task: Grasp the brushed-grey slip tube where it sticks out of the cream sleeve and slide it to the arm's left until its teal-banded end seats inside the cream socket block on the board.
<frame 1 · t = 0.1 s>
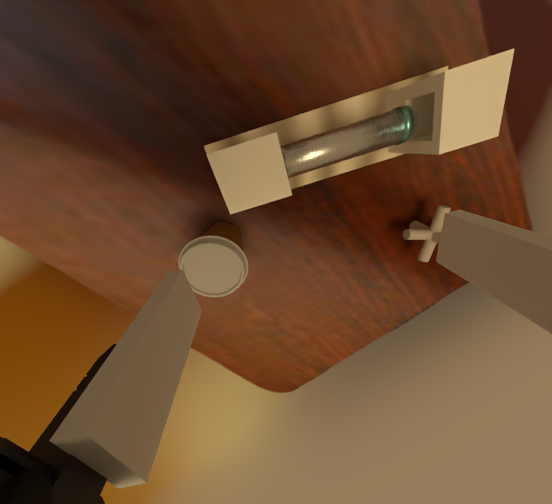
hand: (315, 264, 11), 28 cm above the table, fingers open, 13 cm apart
tube: (314, 152, 27), point 7 cm above the table, slide at 0.0 cm
disposable coffee cup: (224, 237, 39), on the table
board: (327, 143, 34), on the table
sleeve: (252, 167, 34), resting on board
pipe connector: (413, 224, 42), on the table
socket: (407, 118, 33), resting on board
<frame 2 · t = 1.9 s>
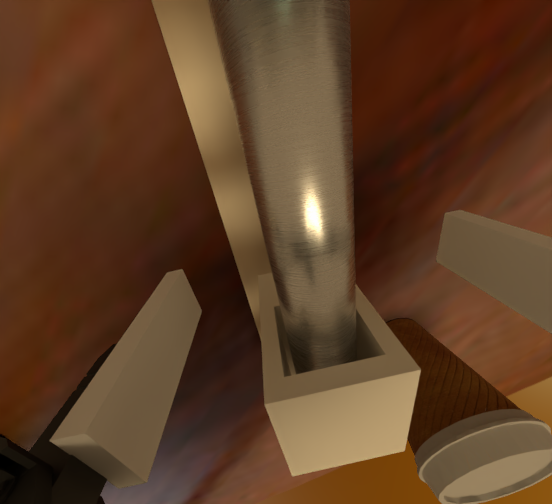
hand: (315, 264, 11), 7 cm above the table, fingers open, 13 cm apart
tube: (311, 260, 10), point 7 cm above the table, slide at 0.0 cm
disposable coffee cup: (392, 336, 25), on the table
board: (278, 163, 15), on the table
sleeve: (301, 297, 21), resting on board
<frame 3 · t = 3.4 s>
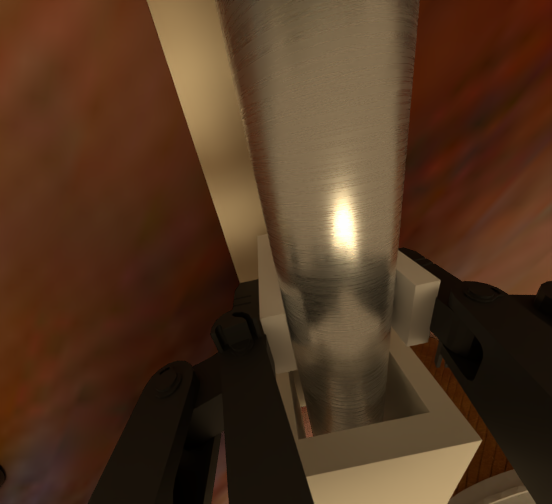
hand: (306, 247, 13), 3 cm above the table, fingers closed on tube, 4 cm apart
tube: (333, 289, 8), point 7 cm above the table, slide at 0.0 cm, touching gripper
disposable coffee cup: (410, 355, 23), on the table
board: (288, 164, 13), on the table
sleeve: (311, 314, 19), resting on board
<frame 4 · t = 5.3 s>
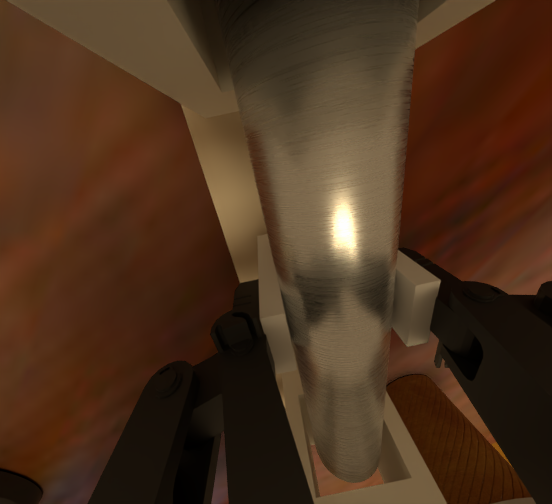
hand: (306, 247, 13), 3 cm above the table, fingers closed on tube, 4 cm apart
tube: (333, 289, 8), point 7 cm above the table, slide at 6.4 cm, touching gripper
disposable coffee cup: (405, 388, 26), on the table
board: (302, 254, 16), on the table
sleeve: (318, 360, 21), resting on board
socket: (265, 15, 10), resting on board
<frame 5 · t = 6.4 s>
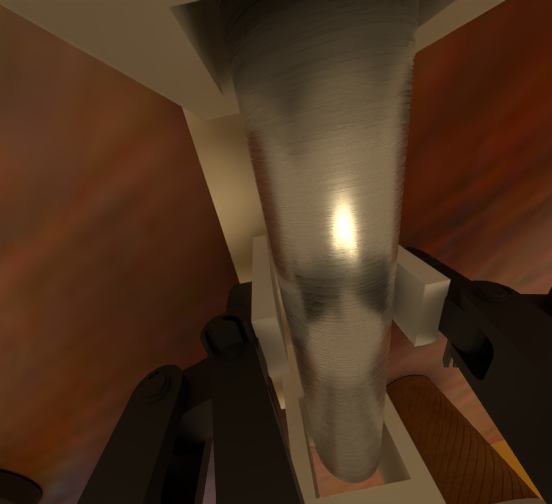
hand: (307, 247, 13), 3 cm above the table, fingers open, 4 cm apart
tube: (333, 290, 8), point 7 cm above the table, slide at 6.5 cm
disposable coffee cup: (404, 389, 26), on the table
board: (302, 255, 16), on the table
sleeve: (318, 361, 21), resting on board
socket: (266, 18, 10), resting on board
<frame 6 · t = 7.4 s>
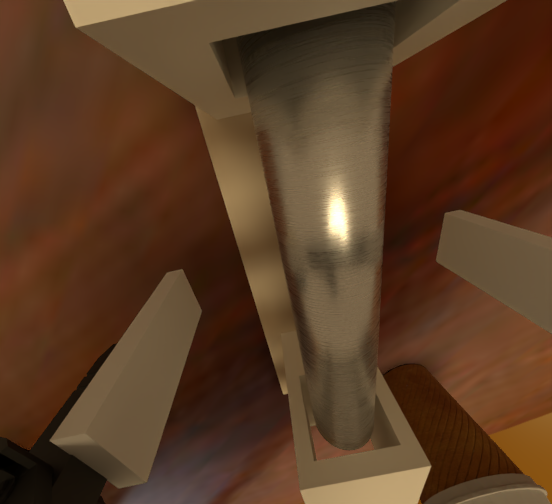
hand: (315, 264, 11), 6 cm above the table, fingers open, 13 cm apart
tube: (330, 269, 9), point 7 cm above the table, slide at 6.5 cm
disposable coffee cup: (401, 378, 27), on the table
board: (303, 246, 17), on the table
sleeve: (318, 348, 23), resting on board
socket: (272, 27, 11), resting on board
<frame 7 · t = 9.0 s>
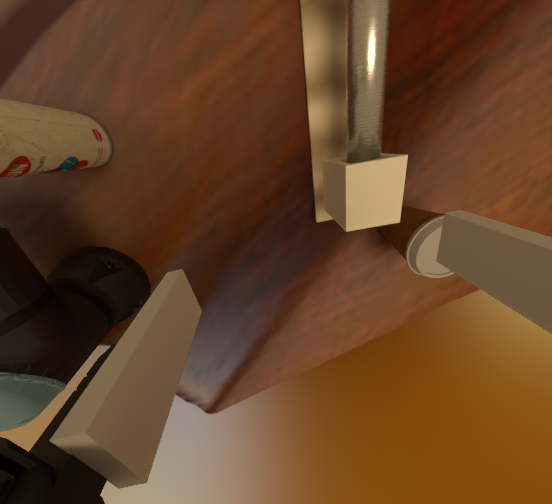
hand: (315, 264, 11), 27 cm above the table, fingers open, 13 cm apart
tube: (366, 43, 22), point 8 cm above the table, slide at 6.5 cm
disposable coffee cup: (396, 222, 39), on the table
board: (341, 90, 29), on the table
sleeve: (342, 182, 35), resting on board
aerosol can: (88, 141, 30), on the table
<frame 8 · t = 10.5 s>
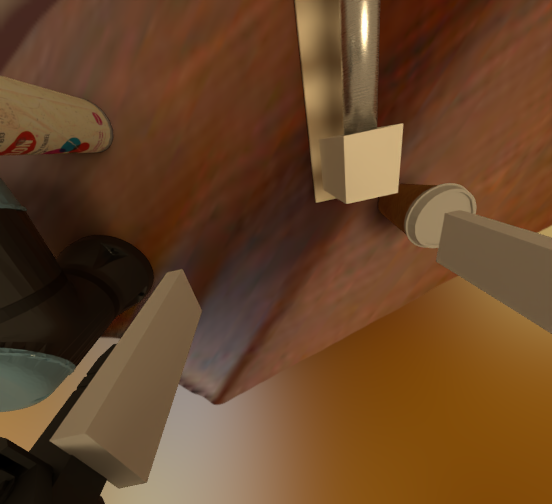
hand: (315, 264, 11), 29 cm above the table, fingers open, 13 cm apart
tube: (359, 15, 22), point 7 cm above the table, slide at 6.5 cm
disposable coffee cup: (393, 200, 40), on the table
board: (336, 68, 30), on the table
sleeve: (340, 161, 36), resting on board
aerosol can: (88, 126, 31), on the table
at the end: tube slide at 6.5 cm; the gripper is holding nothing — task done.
